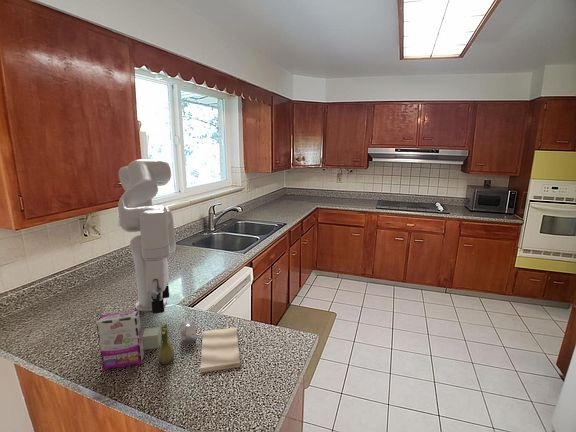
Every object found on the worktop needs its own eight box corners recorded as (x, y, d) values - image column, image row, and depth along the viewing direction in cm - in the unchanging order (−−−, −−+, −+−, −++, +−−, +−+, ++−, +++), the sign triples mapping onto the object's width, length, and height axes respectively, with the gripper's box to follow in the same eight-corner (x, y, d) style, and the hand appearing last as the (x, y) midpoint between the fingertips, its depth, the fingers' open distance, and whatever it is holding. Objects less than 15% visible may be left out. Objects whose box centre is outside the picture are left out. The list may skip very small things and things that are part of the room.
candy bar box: (144, 354, 103) (139, 309, 100) (142, 364, 99) (136, 317, 95) (107, 360, 100) (100, 314, 97) (102, 370, 96) (95, 322, 92)
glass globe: (181, 336, 113) (180, 321, 112) (196, 335, 114) (195, 320, 113) (180, 345, 108) (179, 329, 107) (195, 343, 109) (194, 327, 108)
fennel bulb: (168, 367, 97) (165, 333, 95) (154, 365, 98) (150, 331, 95) (178, 355, 103) (175, 322, 100) (164, 354, 104) (161, 321, 101)
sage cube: (146, 341, 111) (145, 328, 110) (161, 339, 112) (160, 326, 111) (143, 350, 106) (141, 336, 105) (159, 348, 107) (157, 335, 106)
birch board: (203, 334, 114) (203, 331, 114) (236, 330, 117) (236, 327, 116) (200, 372, 95) (200, 368, 95) (240, 366, 98) (240, 362, 97)
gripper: (149, 244, 100) (153, 293, 103) (135, 262, 83) (141, 320, 87) (173, 242, 101) (177, 291, 105) (165, 260, 85) (170, 317, 88)
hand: (161, 304), depth 96 cm, fingers open, 9 cm apart
